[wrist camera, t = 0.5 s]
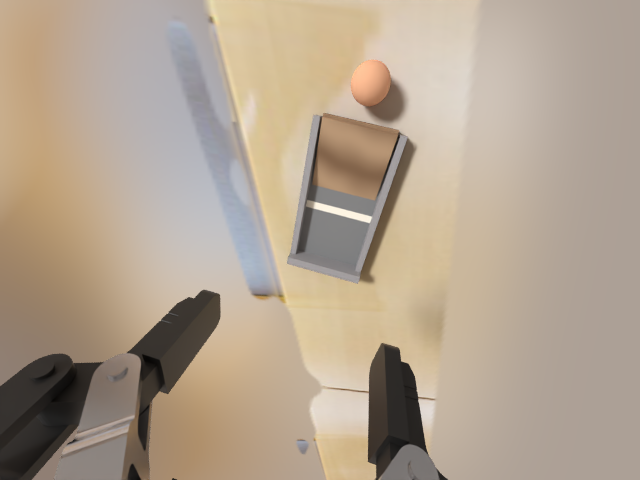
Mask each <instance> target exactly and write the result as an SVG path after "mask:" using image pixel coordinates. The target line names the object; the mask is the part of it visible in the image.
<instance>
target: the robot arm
mask: <svg viewBox="0 0 640 480" xmlns="http://www.w3.org/2000/svg"><path fill="white" fill-rule="evenodd" d="M219 320H220V295H219V294H217V293H214V292H211V291H207V290H202V291H201V292H200V293H199V294H198V295H197V296H196V297H195V298H194V299H193V298H190V297H188V298H187V299H185V300H183V301H181V302H179V303H177V304H176V306H174V307H173V308H172V309H171V310H170V311H169V313H168V314H166V315H165V317H163V318H162V320H161V321H159V323H157V324H156V325H155V326H154V327H153V328H152V329H151V330H150V331H149V332H148V333H147V334H146V335H145V336H144V337H143V338H142V339H141V340H140V341H139V342H138V343H137V344H136V345H135V346H134V347H133V348H132V349H131V350H130V351H128V352H127V353H126V354H120V355H117V356H114V357H112V358H110V359H108V360H106V361H105V362H100V363H73V361H72V359H71V358H70V357H69V356H68V355H65V354H52V355H48V356H45V357H42V358H39V359H38V360H35V361H33V362H32V363H30V364H28V365H27V366H26V367H24V368H23V369H22V370H20V371H19V372H18V373H17V374H15V375H14V376H13V377H12V378H10V379H9V380H8V381H7V382H5V383H4V384H3V385H2V386H0V480H32V479H33V477H34V476H35V475H36V474H37V473H38V472H39V470H40V469H41V468H42V467H43V466H44V465H45V464H46V462H47V461H48V460H49V459H50V458H51V457H52V456H53V454H54V453H55V452H56V451H57V450H58V449H59V447H60V446H61V445H62V444H63V443H64V442H65V440H66V439H67V438H68V437H69V436H70V435H71V434H72V433H73V431H74V430H75V429H76V428H77V427H78V426H79V427H78V431H77V434H76V437H75V439H74V440H73V441H72V442H70V443H68V444H67V445H66V447H65V448H64V450H63V453H62V455H61V458H60V462H59V464H58V468H57V471H56V474H55V478H54V480H150V466H149V441H150V428H151V427H150V426H151V414H152V400H153V398H154V397H155V396H156V394H157V393H158V392H159V391H161V392H163V393H167V394H168V393H169V392H170V391H171V389H172V388H173V386H174V385H175V384H176V382H177V381H178V379H179V378H180V377H181V375H182V374H183V373H184V371H185V370H186V368H187V367H188V365H189V364H190V363H191V361H192V360H193V359H194V357H195V356H196V354H197V353H198V352H199V350H200V349H201V347H202V346H203V345H204V343H205V342H206V341H207V339H208V338H209V337H210V335H211V334H212V332H213V331H214V329H215V328H216V326H217V325H218V322H219ZM416 390H417V387H416V381H415V376H414V374H413V372H412V370H411V368H410V366H409V364H408V363H404V362H401V357H400V350H399V348H398V347H394V346H391V345H388V344H384V343H382V344H381V345H380V347H379V349H378V351H377V353H376V355H375V357H374V359H373V361H372V364H371V367H370V374H369V427H368V462H369V463H372V464H375V465H376V478H375V480H448V479H446V478H445V477H444V476H443V475H442V474H441V473H440V472H439V471H438V470H437V469H436V467H435V465H434V463H433V461H432V460H431V458H430V457H429V455H428V452H427V449H426V445H425V439H424V433H423V426H422V420H421V413H420V407H419V403H418V394H417V391H416ZM172 480H176V479H174V478H173V479H172Z"/></svg>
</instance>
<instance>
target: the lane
mask: <svg viewBox="0 0 640 480" xmlns="http://www.w3.org/2000/svg"><path fill="white" fill-rule="evenodd" d="M322 117H323V116H318V115H313V121H312V127H311V133H310V139H309V145H308V151H307V157H306V163H305V169H304V175H303V181H302V187H301V193H300V199H299V205H298V211H297V217H296V223H295V229H294V235H293V241H292V247H291V253H290V255H289V256H288V260H287V264H290V265H293V266H297V267H300V268H304V269H308V270H311V271H315V272H318V273H322V274H325V275H329V276H332V277H336V278H340V279H343V280H347V281H350V282H354V283H357V284H358V282H359V279H360V273H361V270H362V267H363V264H364V261H365V258H366V255H367V252H368V250H369V247H370V244H371V241H372V238H373V235H374V232H375V230H376V227H377V224H378V221H379V218H380V215H381V212H382V209H383V207H384V204H385V201H386V198H387V195H388V192H389V189H390V187H391V184H392V181H393V178H394V175H395V172H396V169H397V166H398V164H399V161H400V158H401V155H402V152H403V149H404V146H405V144H406V141H407V138H408V137H407V136H404V135H400V134H398V137H397V140H396V143H395V145H394V148H393V151H392V154H391V157H390V160H389V162H388V165H387V168H386V171H385V174H384V177H383V179H382V182H381V185H380V188H379V191H378V194H377V196H376V199H375V200H371V199H367V198H363V197H359V196H355V195H351V194H347V193H343V192H339V191H335V190H331V189H328V188H324V187H320V186H316V185H312V183H313V176H314V169H315V162H316V156H317V149H318V142H319V136H320V129H321V122H322Z"/></svg>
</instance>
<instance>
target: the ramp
mask: <svg viewBox="0 0 640 480" xmlns="http://www.w3.org/2000/svg"><path fill="white" fill-rule="evenodd" d="M398 133H399V130H395V129H391V128H387V127H383V126H378V125H374V124H370V123H365V122H361V121H357V120H352V119H348V118H344V117H339V116H335V115H331V114H326V113H323V117H322V122H321V129H320V136H319V142H318V149H317V156H316V162H315V169H314V176H313V183H312V185H316V186H320V187H324V188H328V189H331V190H335V191H339V192H343V193H347V194H351V195H355V196H359V197H363V198H367V199H371V200H375V199H376V196H377V194H378V191H379V188H380V185H381V182H382V179H383V177H384V174H385V171H386V168H387V165H388V162H389V160H390V157H391V154H392V151H393V148H394V145H395V143H396V140H397V137H398Z"/></svg>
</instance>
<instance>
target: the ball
mask: <svg viewBox="0 0 640 480" xmlns="http://www.w3.org/2000/svg"><path fill="white" fill-rule="evenodd" d="M390 84H391V77H390V72H389V70H388V68H387V67H386V65H385V64H384V63H382V62H381V61H378V60H368V61H365V62H363V63H362V64H361V65H359V66H358V68H357V69H356V70H355V72H354V74H353V76H352V80H351V90H352V94H353V96H354V98H355V99H356V101H357V102H359V103H360V104H362V105H365V106H373V105H376V104H378V103H379V102H381V101H382V100H383V99H384V98H385V97H386V95H387V93H388V91H389V88H390Z"/></svg>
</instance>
